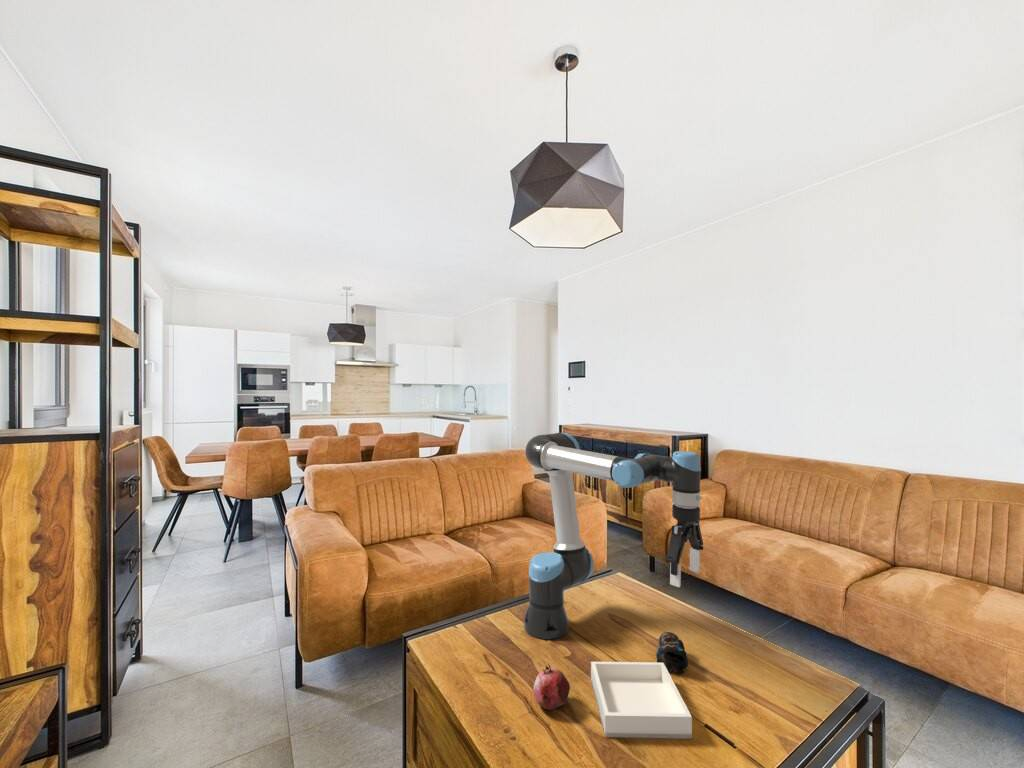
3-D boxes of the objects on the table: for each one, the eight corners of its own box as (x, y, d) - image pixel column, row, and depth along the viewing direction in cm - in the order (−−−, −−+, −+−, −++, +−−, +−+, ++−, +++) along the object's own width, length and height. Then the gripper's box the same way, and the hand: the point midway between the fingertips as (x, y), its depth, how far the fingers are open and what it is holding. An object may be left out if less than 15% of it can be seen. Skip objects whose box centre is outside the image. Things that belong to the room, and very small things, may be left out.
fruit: (577, 704, 112) (577, 665, 112) (551, 723, 105) (552, 682, 105) (551, 686, 118) (551, 649, 119) (525, 703, 112) (526, 664, 112)
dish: (605, 737, 101) (605, 715, 101) (591, 679, 121) (591, 661, 121) (691, 738, 101) (691, 716, 101) (663, 680, 121) (663, 662, 121)
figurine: (652, 653, 124) (653, 620, 138) (661, 681, 124) (661, 645, 138) (684, 651, 121) (682, 618, 135) (692, 680, 121) (689, 644, 135)
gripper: (680, 516, 116) (679, 596, 116) (715, 499, 134) (714, 569, 134) (654, 511, 121) (653, 587, 121) (690, 495, 139) (689, 562, 139)
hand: (685, 578), depth 127 cm, fingers open, 13 cm apart
